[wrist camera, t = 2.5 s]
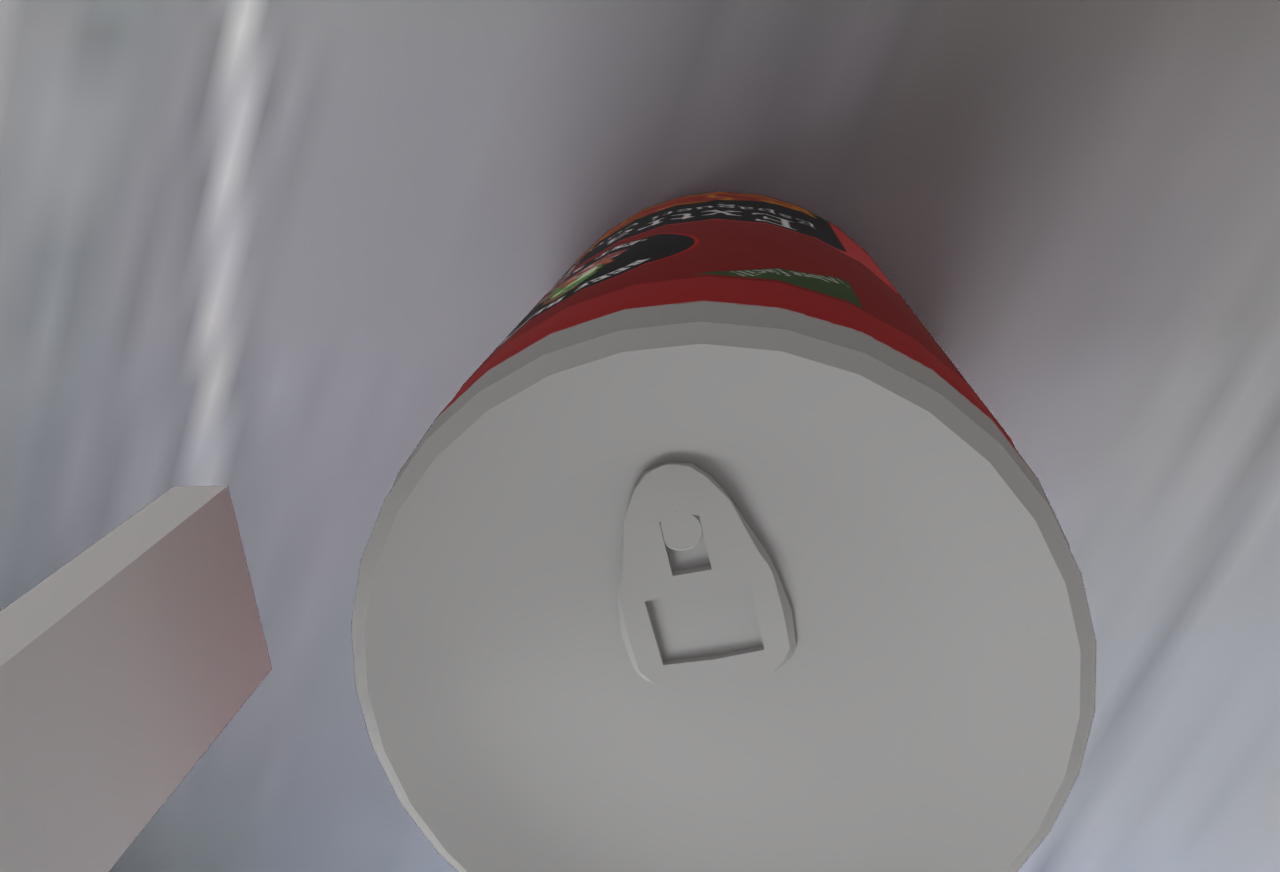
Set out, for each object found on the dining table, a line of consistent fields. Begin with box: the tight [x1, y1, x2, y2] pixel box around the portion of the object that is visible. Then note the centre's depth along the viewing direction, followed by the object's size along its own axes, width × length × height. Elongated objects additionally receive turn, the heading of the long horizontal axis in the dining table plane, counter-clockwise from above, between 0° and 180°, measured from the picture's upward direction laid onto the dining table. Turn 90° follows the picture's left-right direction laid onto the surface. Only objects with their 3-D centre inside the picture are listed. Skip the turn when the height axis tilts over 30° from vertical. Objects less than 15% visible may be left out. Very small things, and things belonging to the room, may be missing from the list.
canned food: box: [351, 192, 1096, 872], centre depth 15 cm, size 8×8×11 cm
